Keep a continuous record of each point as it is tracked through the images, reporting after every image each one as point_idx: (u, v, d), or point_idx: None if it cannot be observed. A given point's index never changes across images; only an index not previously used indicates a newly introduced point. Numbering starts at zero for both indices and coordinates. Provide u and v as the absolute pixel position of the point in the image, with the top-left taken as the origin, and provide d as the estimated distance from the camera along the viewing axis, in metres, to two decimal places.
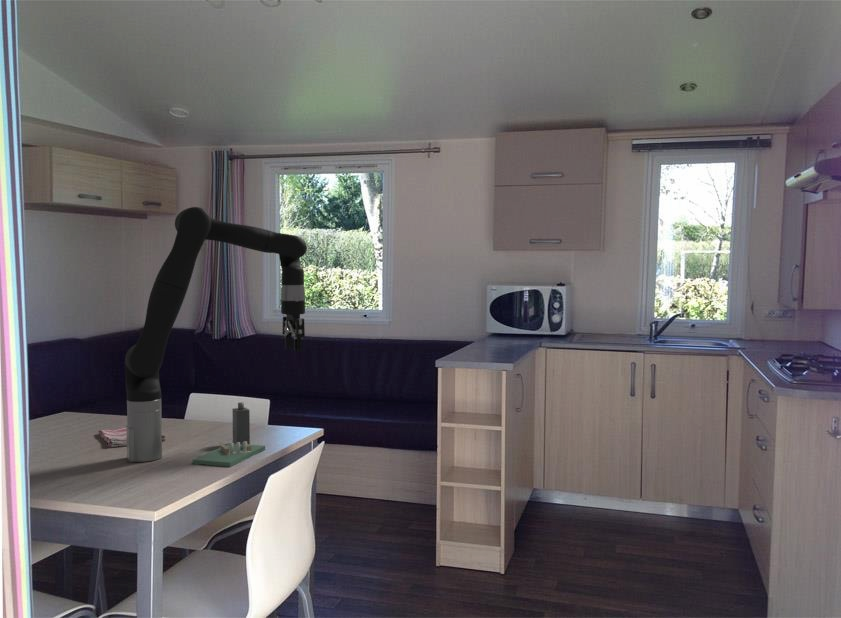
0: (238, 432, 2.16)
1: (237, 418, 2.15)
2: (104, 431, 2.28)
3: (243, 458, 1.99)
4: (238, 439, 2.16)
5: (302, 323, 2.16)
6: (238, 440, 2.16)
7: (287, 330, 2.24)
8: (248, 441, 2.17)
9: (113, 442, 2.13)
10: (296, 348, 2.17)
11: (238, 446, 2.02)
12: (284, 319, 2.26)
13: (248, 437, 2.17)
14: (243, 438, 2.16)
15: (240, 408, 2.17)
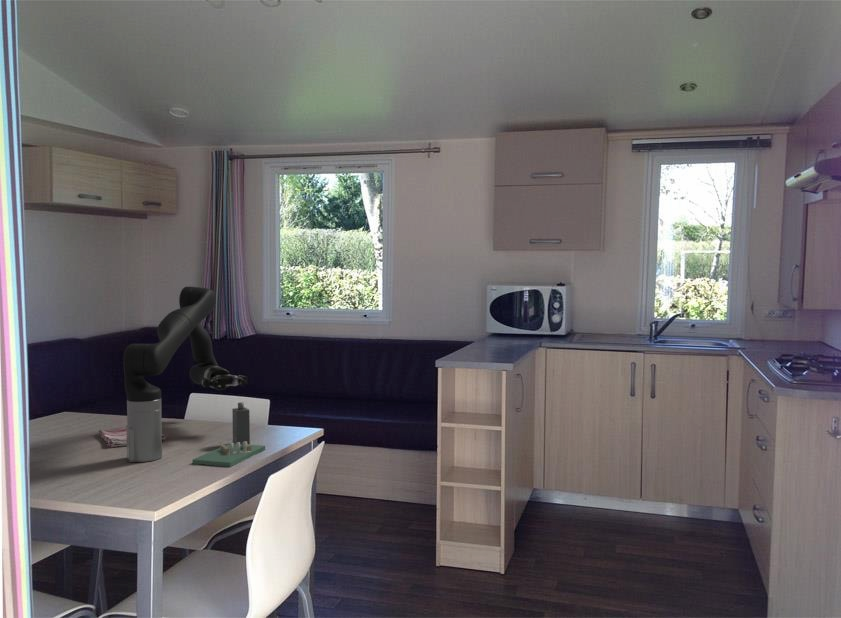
0: (238, 432, 2.16)
1: (237, 418, 2.15)
2: (104, 431, 2.28)
3: (243, 458, 1.99)
4: (238, 439, 2.16)
5: None
6: (238, 440, 2.16)
7: (217, 379, 2.31)
8: (248, 441, 2.17)
9: (113, 442, 2.13)
10: (244, 380, 2.31)
11: (238, 446, 2.02)
12: (205, 378, 2.33)
13: (248, 437, 2.17)
14: (243, 438, 2.16)
15: (240, 408, 2.17)
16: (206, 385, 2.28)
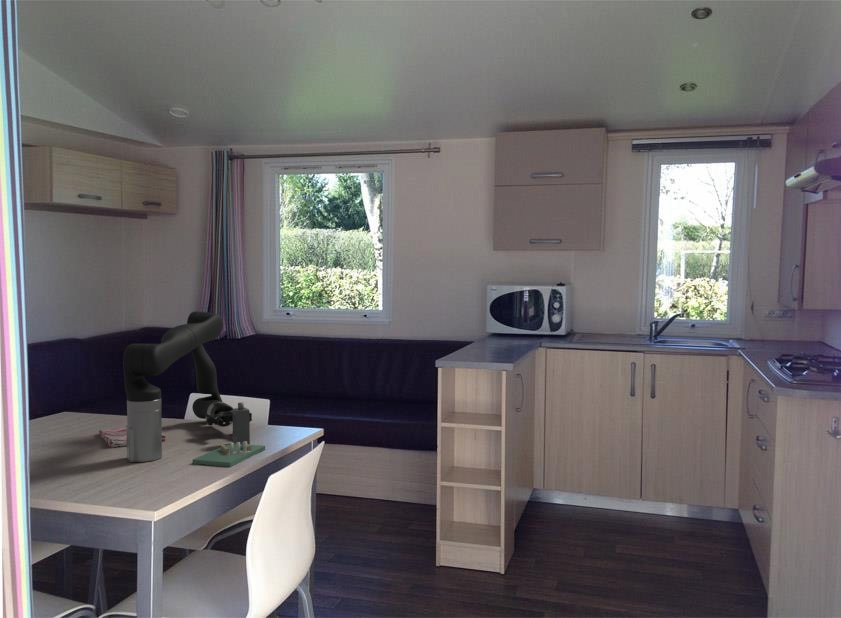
0: (238, 432, 2.16)
1: (237, 418, 2.15)
2: (104, 431, 2.28)
3: (243, 458, 1.99)
4: (238, 439, 2.16)
5: None
6: (238, 440, 2.16)
7: (221, 416, 2.27)
8: (248, 441, 2.17)
9: (113, 442, 2.13)
10: (249, 417, 2.27)
11: (238, 446, 2.02)
12: None
13: (248, 437, 2.17)
14: (243, 438, 2.16)
15: (240, 408, 2.17)
16: (210, 423, 2.24)
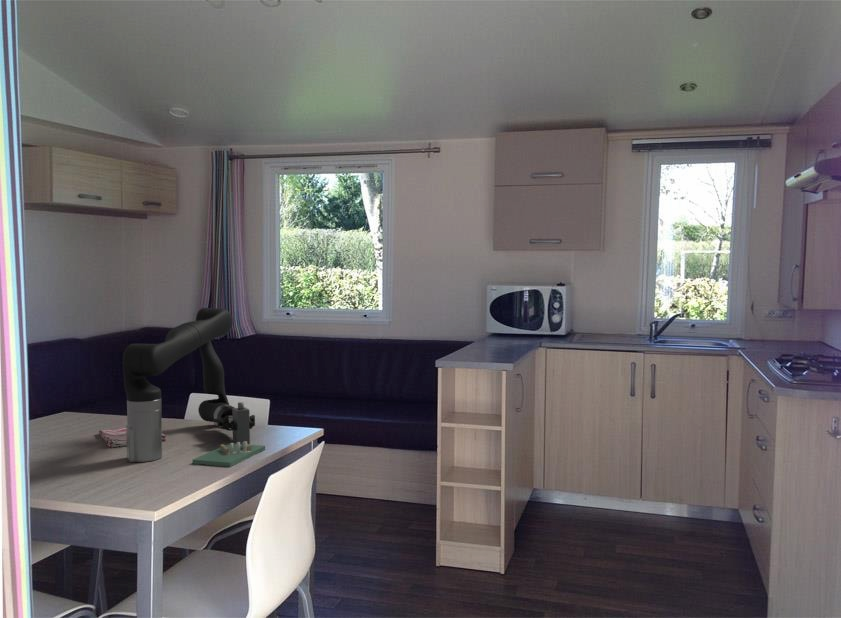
0: (238, 432, 2.16)
1: (237, 418, 2.15)
2: (104, 431, 2.27)
3: (243, 458, 1.99)
4: (238, 439, 2.16)
5: None
6: (238, 440, 2.16)
7: None
8: (248, 441, 2.17)
9: (114, 442, 2.13)
10: (252, 422, 2.18)
11: (238, 446, 2.02)
12: None
13: (248, 437, 2.17)
14: (243, 438, 2.16)
15: (240, 408, 2.17)
16: (225, 427, 2.18)
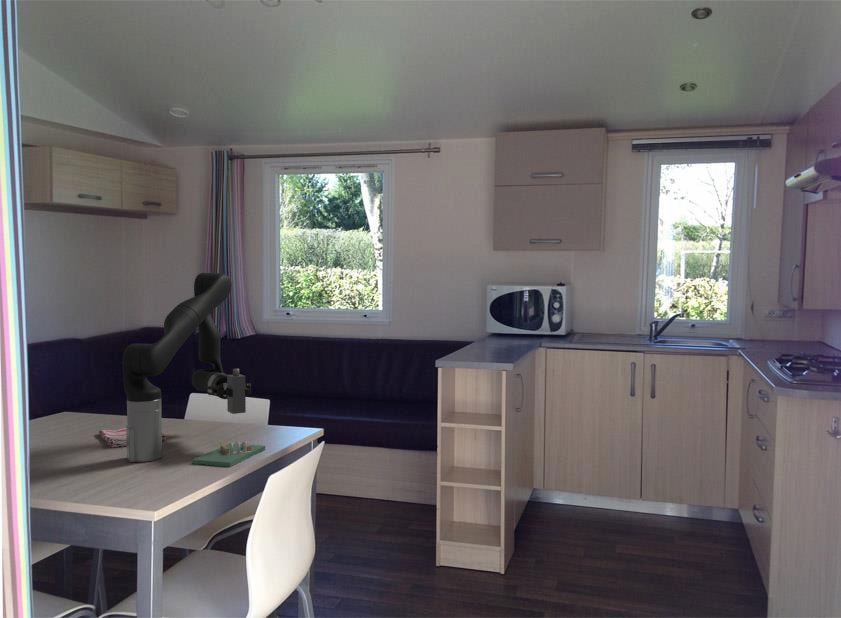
0: (234, 399, 2.06)
1: (232, 384, 2.06)
2: (104, 431, 2.27)
3: (243, 458, 1.99)
4: (234, 406, 2.06)
5: None
6: (234, 407, 2.06)
7: (227, 387, 2.11)
8: (244, 409, 2.08)
9: (114, 442, 2.13)
10: (247, 389, 2.09)
11: (238, 446, 2.02)
12: (212, 387, 2.12)
13: (244, 404, 2.08)
14: (238, 406, 2.07)
15: (235, 374, 2.08)
16: (220, 394, 2.08)
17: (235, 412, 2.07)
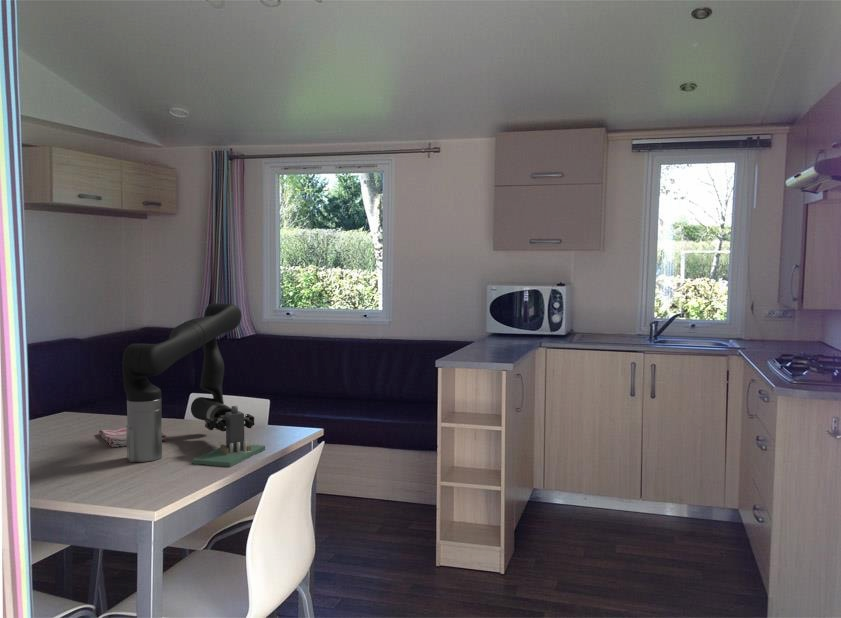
0: (232, 437, 2.03)
1: (231, 422, 2.03)
2: (105, 431, 2.27)
3: (243, 458, 1.99)
4: None
5: None
6: None
7: (222, 420, 2.08)
8: None
9: (114, 442, 2.13)
10: (251, 421, 2.07)
11: (238, 446, 2.02)
12: (209, 419, 2.09)
13: None
14: None
15: (234, 412, 2.05)
16: (211, 427, 2.04)
17: (234, 450, 2.03)
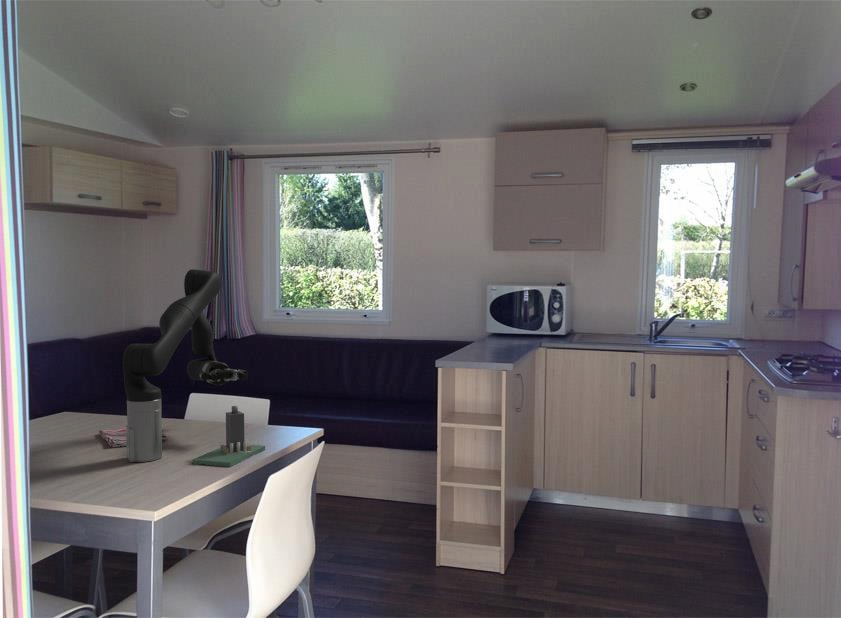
0: (232, 437, 2.03)
1: (231, 422, 2.03)
2: (105, 431, 2.27)
3: (243, 458, 1.99)
4: None
5: None
6: None
7: (216, 372, 2.21)
8: None
9: (115, 442, 2.13)
10: (244, 374, 2.20)
11: (238, 446, 2.02)
12: (203, 372, 2.22)
13: None
14: None
15: (234, 412, 2.05)
16: (204, 378, 2.17)
17: (234, 450, 2.03)
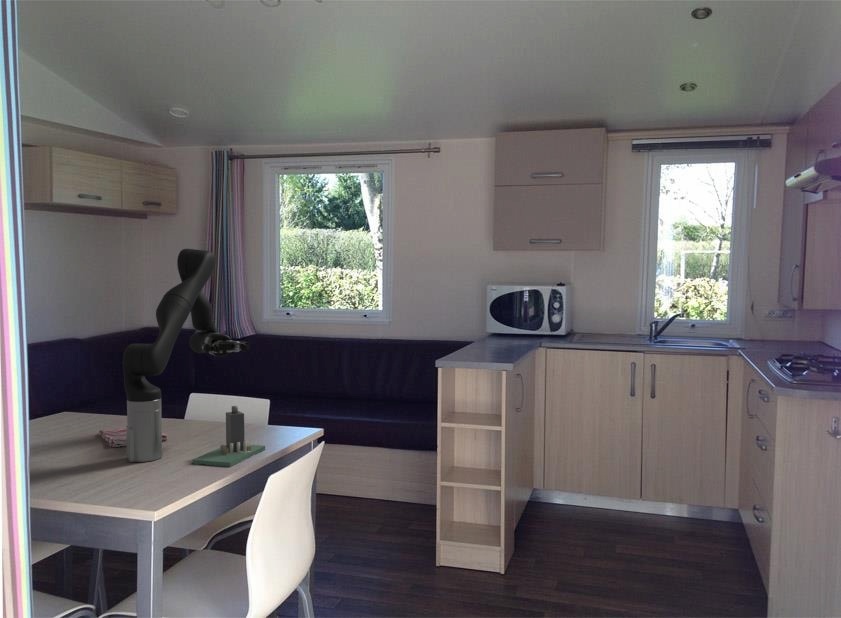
0: (232, 437, 2.03)
1: (231, 422, 2.03)
2: (105, 431, 2.27)
3: (243, 458, 1.99)
4: None
5: None
6: None
7: (218, 344, 2.22)
8: None
9: (115, 442, 2.13)
10: None
11: (238, 446, 2.02)
12: (206, 344, 2.23)
13: None
14: None
15: (234, 412, 2.05)
16: (207, 350, 2.19)
17: (234, 450, 2.03)
